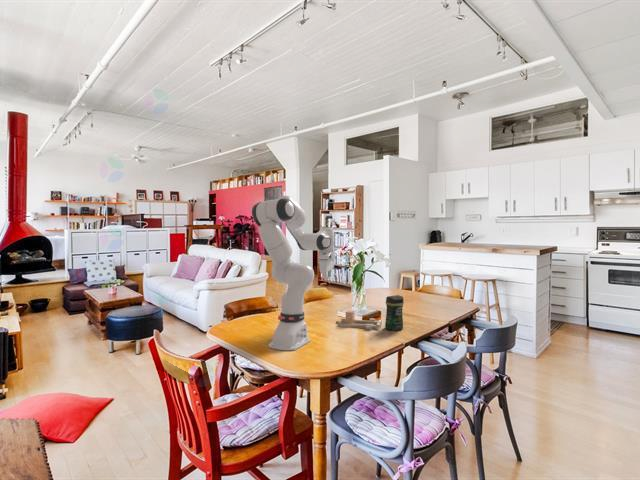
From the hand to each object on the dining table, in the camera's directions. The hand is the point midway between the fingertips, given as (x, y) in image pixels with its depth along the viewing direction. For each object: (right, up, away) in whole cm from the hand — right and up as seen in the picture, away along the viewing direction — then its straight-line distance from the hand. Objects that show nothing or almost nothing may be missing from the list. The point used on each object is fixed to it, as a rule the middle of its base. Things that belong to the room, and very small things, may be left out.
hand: (327, 278), depth 209 cm
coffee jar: (+37, -27, -10) cm, 47 cm away
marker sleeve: (+13, -26, -3) cm, 29 cm away
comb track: (+18, -27, -4) cm, 32 cm away
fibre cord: (+17, -27, -4) cm, 32 cm away
